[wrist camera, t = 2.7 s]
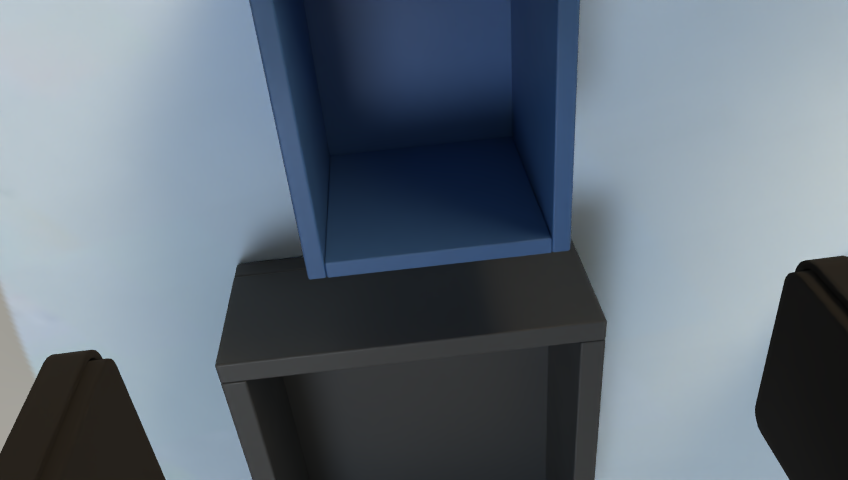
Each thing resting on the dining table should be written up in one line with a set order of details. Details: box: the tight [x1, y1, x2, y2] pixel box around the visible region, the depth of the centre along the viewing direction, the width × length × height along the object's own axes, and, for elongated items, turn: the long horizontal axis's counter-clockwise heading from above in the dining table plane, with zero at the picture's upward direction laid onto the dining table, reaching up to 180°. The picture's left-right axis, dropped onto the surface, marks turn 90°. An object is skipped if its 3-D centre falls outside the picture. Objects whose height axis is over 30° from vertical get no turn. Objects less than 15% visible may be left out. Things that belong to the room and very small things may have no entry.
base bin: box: [215, 240, 607, 480], centre depth 29 cm, size 16×12×5 cm
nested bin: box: [249, 0, 580, 280], centre depth 20 cm, size 9×7×6 cm
